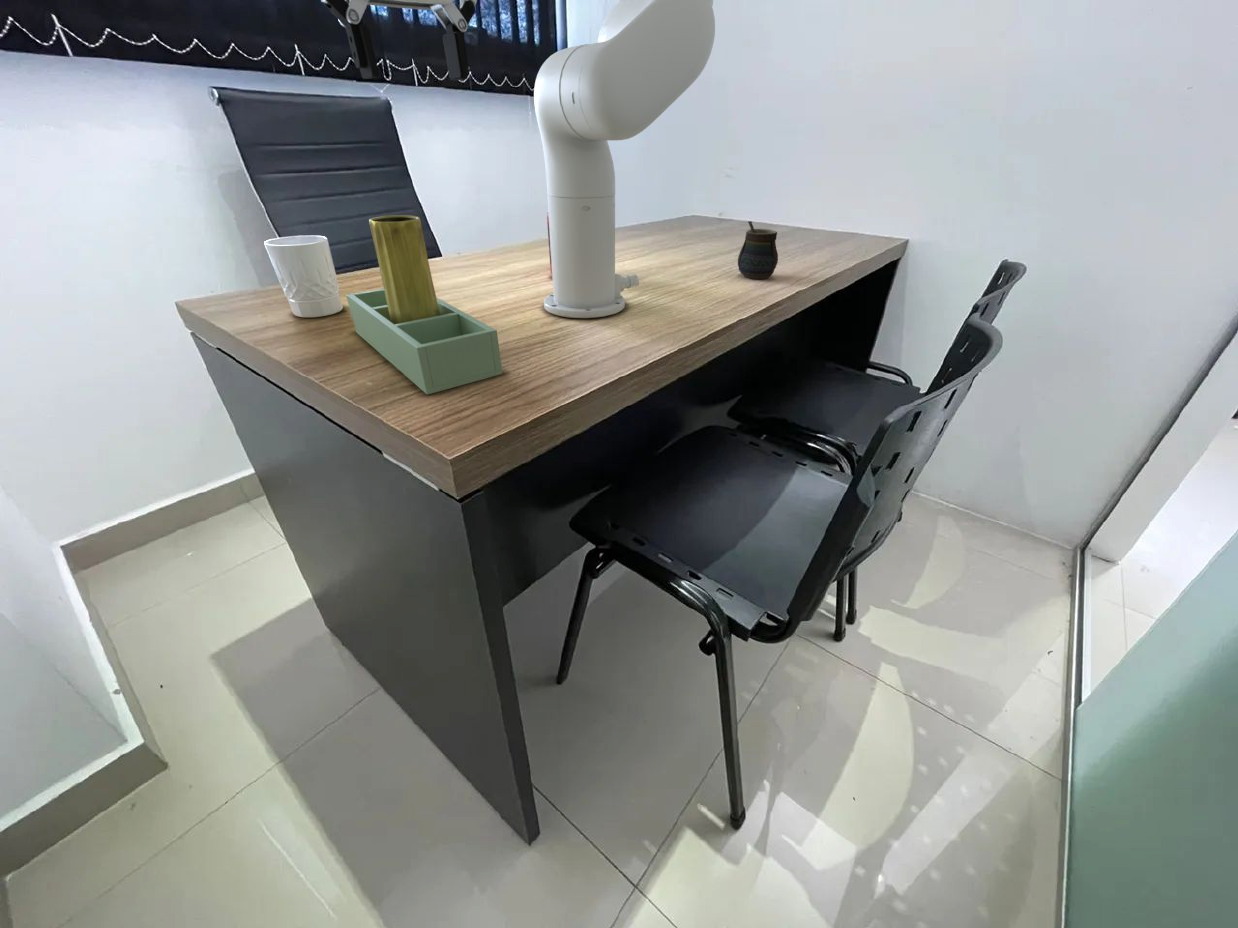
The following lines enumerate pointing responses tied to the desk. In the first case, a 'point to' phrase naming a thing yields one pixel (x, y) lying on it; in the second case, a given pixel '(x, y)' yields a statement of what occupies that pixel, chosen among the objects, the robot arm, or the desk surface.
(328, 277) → the white cup
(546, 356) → the desk surface
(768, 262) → the mate gourd
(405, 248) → the vase
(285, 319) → the desk surface
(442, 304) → the compartment tray
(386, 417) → the desk surface
